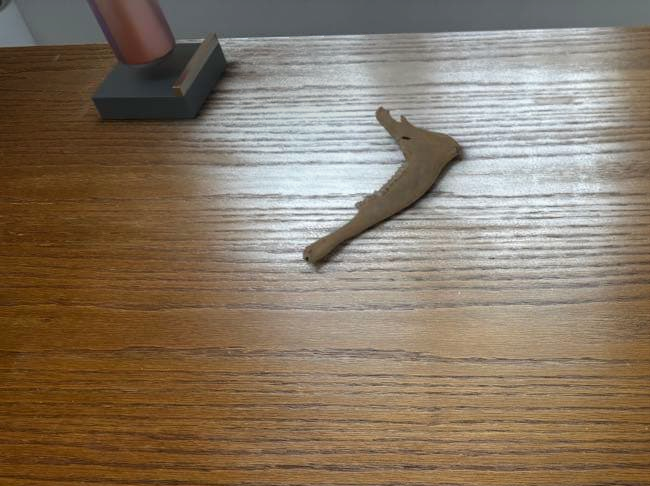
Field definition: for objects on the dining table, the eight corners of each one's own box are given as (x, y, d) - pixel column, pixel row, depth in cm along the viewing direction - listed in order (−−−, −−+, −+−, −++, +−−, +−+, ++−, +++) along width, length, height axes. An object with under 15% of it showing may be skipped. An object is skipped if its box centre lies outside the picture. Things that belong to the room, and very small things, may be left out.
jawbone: (472, 132, 79) (470, 114, 78) (407, 286, 68) (404, 268, 66) (380, 121, 81) (377, 102, 79) (301, 270, 69) (295, 251, 67)
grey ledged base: (102, 119, 86) (85, 88, 83) (141, 65, 92) (126, 34, 89) (194, 118, 84) (179, 86, 81) (228, 64, 90) (215, 32, 87)
